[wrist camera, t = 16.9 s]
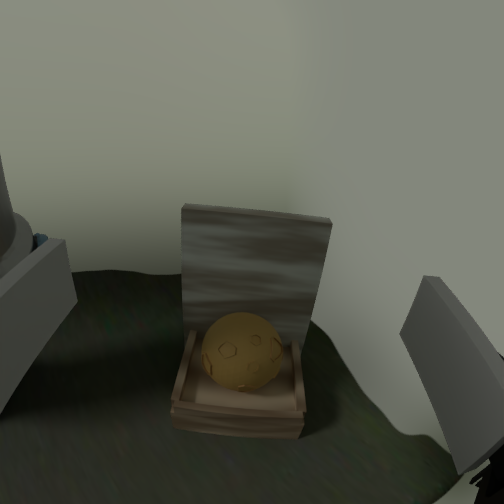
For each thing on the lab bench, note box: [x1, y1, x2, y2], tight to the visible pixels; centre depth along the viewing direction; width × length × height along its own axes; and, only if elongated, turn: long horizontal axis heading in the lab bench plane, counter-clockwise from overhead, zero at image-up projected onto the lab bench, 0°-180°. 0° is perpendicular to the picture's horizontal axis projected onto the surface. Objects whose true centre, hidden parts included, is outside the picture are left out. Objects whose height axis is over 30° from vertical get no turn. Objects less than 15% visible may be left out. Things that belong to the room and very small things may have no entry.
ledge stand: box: [170, 204, 332, 439], centre depth 35 cm, size 16×18×24 cm
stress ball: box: [201, 312, 283, 393], centre depth 36 cm, size 10×10×10 cm
